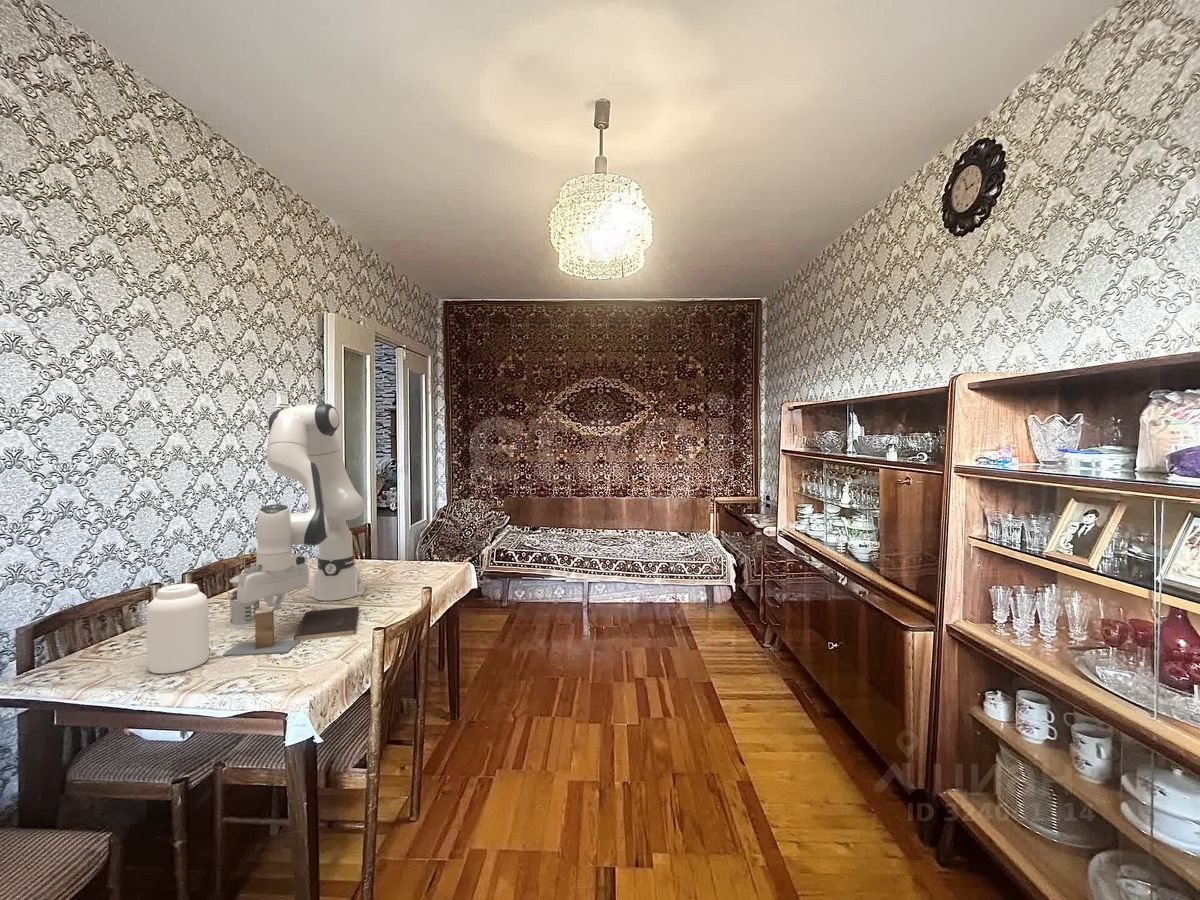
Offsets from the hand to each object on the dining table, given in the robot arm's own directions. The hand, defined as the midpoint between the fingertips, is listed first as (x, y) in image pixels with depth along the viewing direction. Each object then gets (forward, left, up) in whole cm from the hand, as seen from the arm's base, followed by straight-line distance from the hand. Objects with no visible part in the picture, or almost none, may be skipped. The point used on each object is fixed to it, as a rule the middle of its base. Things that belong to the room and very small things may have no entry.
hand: (274, 610), depth 161 cm
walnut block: (+7, 0, -8) cm, 10 cm away
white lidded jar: (+17, -16, -8) cm, 25 cm away
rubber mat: (+8, 0, -8) cm, 11 cm away
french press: (-16, -15, -8) cm, 24 cm away
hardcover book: (-10, +11, -9) cm, 17 cm away
